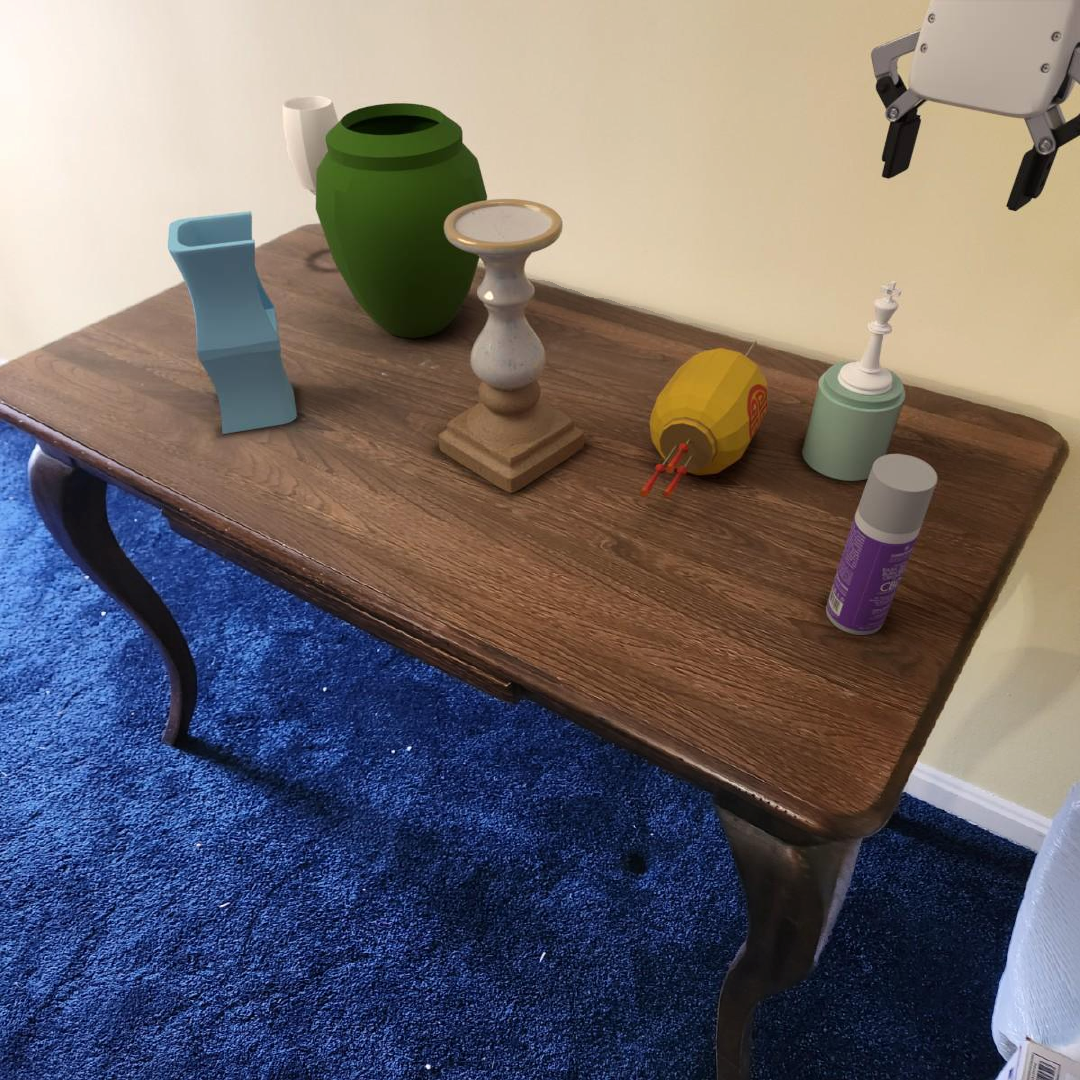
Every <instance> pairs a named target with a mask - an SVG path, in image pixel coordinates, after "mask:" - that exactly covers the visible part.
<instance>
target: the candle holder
mask: <svg viewBox="0 0 1080 1080" xmlns="http://www.w3.org/2000/svg"><path fill="white" fill-rule="evenodd" d="M563 226H564V225H563V218H562V217H561V216H560V214H559V213H558V212H557V211H556V210H554V209H553V208H552V207H550V206H547V205H546V204H542V203H540V202H536V201H532V200H525V199H519V198H494V199H487V200H485V201H479V202H475V203H471V204H468V205H465V206H462V207H460V208H458V209H456V210H455V211H453V212H452V213H451V214H450V215H449V216H448V217H447V218H446V219H445V222H444V233H445V236H446V238H447V239H448V241H449V242H450V243H451V244H453V245H454V246H455V247H457V248H459V249H461V250H463V251H466V252H469V253H473V254H477V255H478V256H479V257H480V258H479V259H480V260H481V262H482V263H483V265H484V270H485V272H484V276H483V279H482V281H481V282H480V283H479V285H478V286H477V289H476V295H477V298H478V299H479V300H480V301H481V303H482V304H483V306H484V307H485V308H486V310H487V313H488V316H487V320H486V322H485V324H484V326H483V327H482V330H481V331H480V332H479V334H478V336H477V337H476V339H475V341H474V343H473V345H472V347H471V351H470V357H469V361H470V367H471V370H472V372H473V373H474V375H475V377H476V378H478V380H479V381H481V382H480V384H479V387H478V397H479V400H480V401H479V402H478V403H477V404H475V405H473V406H471V407H470V408H468V409H466V410H464V411H463V412H461V413H459V414H458V415H456V416H455V417H454V418H451V420H449V422H448V423H447V424H446V425H447V426H446V427H447V428H446V429H445V430H443V431H441V432H440V433H438V447H439V450H440V451H441V452H442V453H444V454H445V455H446V456H448V457H449V458H451V459H453V460H454V461H456V462H457V463H459V464H461V465H462V466H464V467H465V468H467V469H468V470H470V471H472V472H473V473H475V474H476V475H478V476H479V477H482V478H483V479H485V480H486V481H488V482H489V483H491V484H493V485H495V486H496V487H497V488H500V489H502V490H503V491H505V492H507V493H510V494H513V493H516V492H518V491H519V490H521V489H523V488H524V487H526V486H527V485H529V484H531V483H532V482H534V481H536V480H537V479H538V478H540V477H541V476H543V475H544V474H546V473H548V472H549V471H551V470H552V469H554V468H555V467H557V466H558V465H560V464H561V463H563V462H564V461H566V460H567V459H569V458H571V457H572V456H574V455H575V454H576V453H578V452H580V450H582V449H583V448H584V446H585V432H584V431H583V430H581V429H580V428H578V427H577V426H575V421H574V420H573V419H572V418H571V417H570V416H568V415H566V414H565V413H563V412H562V411H560V410H558V409H557V408H555V407H553V406H551V405H549V404H547V403H546V402H544V401H542V400H540V398H541V394H542V393H541V386H540V383H539V381H538V379H539V378H540V377H541V375H542V374H543V372H544V371H545V369H546V365H547V354H546V353H547V352H546V348H545V346H544V344H543V342H542V340H541V338H540V337H539V335H538V334H537V332H536V331H535V330H534V329H533V327H532V326H531V325H530V323H529V321H528V319H527V318H526V314H525V313H526V309H527V306H528V305H529V303H530V300H532V299H533V297H534V296H535V290H536V289H535V287H534V284H533V283H532V282H531V281H530V280H529V278H528V277H527V274H526V271H525V269H526V268H525V267H526V262H527V260H528V258H530V256H531V255H532V254H533V253H536V252H539V251H542V250H544V249H546V248H548V247H550V246H552V245H553V244H554V243H555V242H557V240H558V239H559V238H560V237H561V235H562V232H563V228H564V227H563Z"/></svg>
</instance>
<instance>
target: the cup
mask: <svg viewBox="0 0 1080 1080" xmlns="http://www.w3.org/2000/svg"><path fill="white" fill-rule="evenodd" d="M282 122H283V123H282V124H283V133H284V139H285V146H286V151H287V154H288V157H289V162H290V164H291V166H292V169H293V171H294V173H295V175H296V177H297V179H298V181H299V183H300V185H301V187H302V188H303V189H306V190H307V191H309V192H310V193H311V194H312V195H313V196H316V174H317V168H318V166H319V165H320V163H321V161H322V160H323V158H324V157H325V155H326V153H327V152H328V149H327V144H326V135H327V133H328V132H329V131H330V130H331V129H332V128H333V127H334V126H335V125H336V124H337V123H338V122H339V118H338V115H337V113H336V109H335V106H334V102H333V100H332V99H330V97H326V96H320V95H304V96H296V97H293V98H290V99H288V100H285V101H284V102H283V103H282Z"/></svg>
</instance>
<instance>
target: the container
mask: <svg viewBox="0 0 1080 1080" xmlns="http://www.w3.org/2000/svg"><path fill="white" fill-rule="evenodd" d="M866 480H867V481H866V483H865V486H864V488H863V491H862V494H861V497H860V500H859V503H858V506H857V509H856V511H855V514H854V518H853V520H852V523H851V527H850V529H849V532H848V536H847V539H846V542H845V546H844V549H843V552H842V555H841V557H840V561H839V565H838V568H837V571H836V574H835V577H834V580H833V583H832V587H831V589H830V593H829V596H828V599H827V602H826V606H825V612H826V616H827V618H828V620H829V622H831V623H832V624H833V626H835V627H836V628H837V629H839V630H840V631H843V632H845V633H848V634H851V635H854V636H855V635H857V636H868V635H872V634H875V633H876V632H878V631H879V630H880V629H881V628H882V627H883V625H884V622H885V621H886V618H887V615H888V613H889V610H890V608H891V605H892V603H893V600H894V598H895V595H896V593H897V590H898V588H899V585H900V582H901V580H902V577H903V575H904V573H905V570H906V567H907V565H908V562H909V560H910V557H911V555H912V552H913V550H914V547H915V544H916V542H917V539H918V536H919V535H920V531H921V528H922V525H923V523H924V519H925V517H926V514H927V511H928V508H929V505H930V502H931V500H932V497H933V494H934V491H935V488H936V485H937V482H938V474H937V471H935V469H934V468H933V467H932V466H931V465H930V464H929V463H927V462H926V461H924V460H922V459H920V458H918V457H916V456H913V455H909V454H902V453H890V454H888V453H887V454H886V455H884V456H881V457H879V458H878V459H877V460H876V461H875V462H874V464H873V466H872V469H871V472H870V475H869V478H868V479H866Z"/></svg>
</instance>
